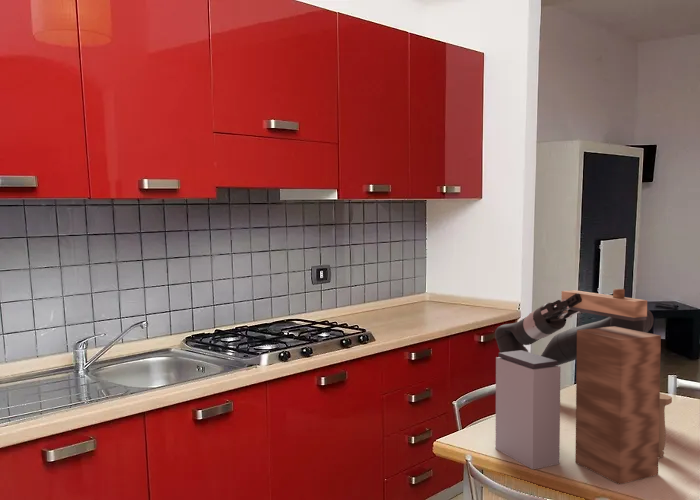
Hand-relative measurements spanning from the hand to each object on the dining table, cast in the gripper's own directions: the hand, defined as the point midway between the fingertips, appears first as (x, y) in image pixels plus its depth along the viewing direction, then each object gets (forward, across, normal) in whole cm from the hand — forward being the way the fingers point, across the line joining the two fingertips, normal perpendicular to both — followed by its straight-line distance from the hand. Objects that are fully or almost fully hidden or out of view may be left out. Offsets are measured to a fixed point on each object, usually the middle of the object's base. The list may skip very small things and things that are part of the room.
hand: (586, 296), depth 146 cm
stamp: (+2, 0, -5) cm, 6 cm away
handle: (-12, -15, -38) cm, 43 cm away
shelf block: (-11, 0, -39) cm, 40 cm away
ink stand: (-24, +14, -32) cm, 42 cm away
